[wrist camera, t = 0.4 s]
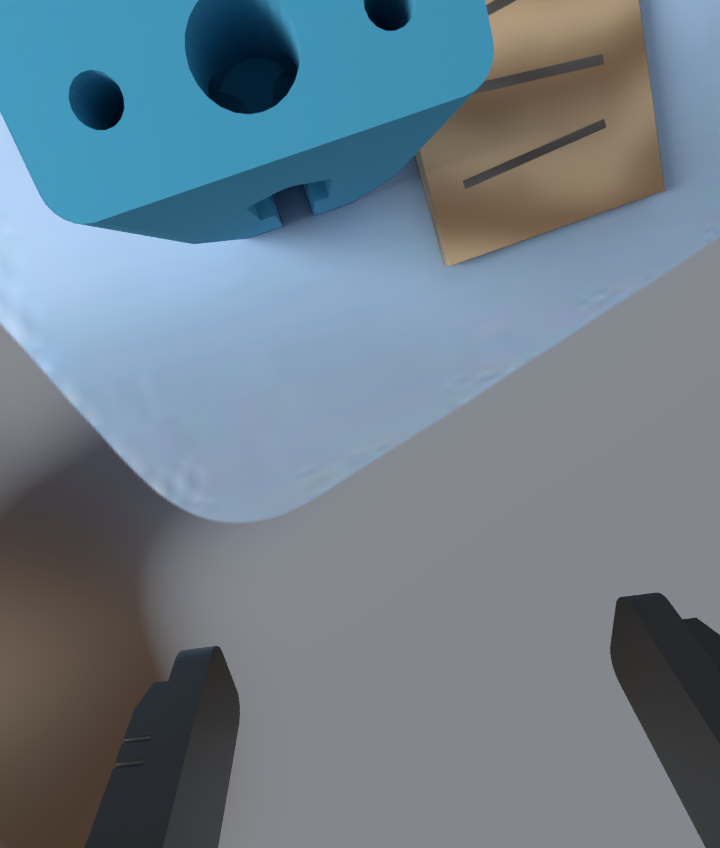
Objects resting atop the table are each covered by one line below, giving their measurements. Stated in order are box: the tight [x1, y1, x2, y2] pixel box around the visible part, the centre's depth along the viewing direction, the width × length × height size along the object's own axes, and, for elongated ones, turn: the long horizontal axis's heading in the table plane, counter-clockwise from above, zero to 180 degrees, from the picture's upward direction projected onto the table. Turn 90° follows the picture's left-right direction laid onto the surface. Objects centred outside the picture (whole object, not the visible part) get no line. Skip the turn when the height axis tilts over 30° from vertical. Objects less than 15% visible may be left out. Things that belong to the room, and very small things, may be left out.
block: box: [0, 0, 494, 244], centre depth 22 cm, size 12×5×20 cm, turn 108°
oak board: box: [415, 0, 665, 266], centre depth 31 cm, size 17×14×2 cm
